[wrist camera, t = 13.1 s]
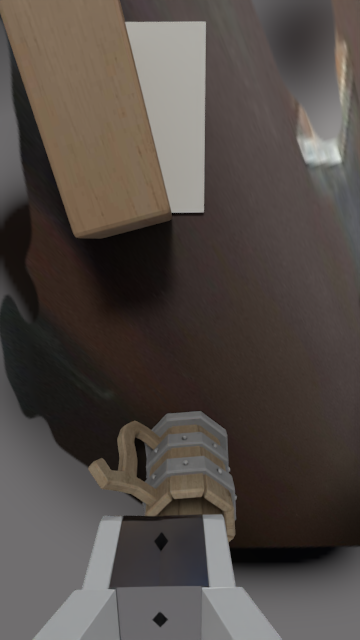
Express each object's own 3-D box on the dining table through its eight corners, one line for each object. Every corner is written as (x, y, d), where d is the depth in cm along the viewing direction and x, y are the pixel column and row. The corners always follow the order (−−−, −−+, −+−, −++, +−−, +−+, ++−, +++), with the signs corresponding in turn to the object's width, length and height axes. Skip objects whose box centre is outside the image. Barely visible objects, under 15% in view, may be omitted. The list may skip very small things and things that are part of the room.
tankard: (242, 441, 48) (271, 529, 33) (191, 492, 50) (197, 594, 36) (143, 367, 44) (127, 429, 30) (93, 425, 47) (56, 509, 32)
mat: (203, 212, 39) (203, 212, 39) (87, 213, 39) (86, 213, 38) (205, 23, 34) (205, 21, 33) (71, 24, 34) (70, 22, 33)
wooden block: (173, 219, 39) (128, 37, 34) (171, 213, 29) (108, -44, 24) (99, 239, 39) (44, 63, 34) (73, 239, 30) (-9, -7, 25)
